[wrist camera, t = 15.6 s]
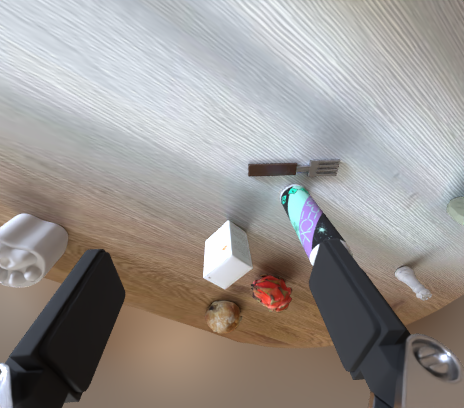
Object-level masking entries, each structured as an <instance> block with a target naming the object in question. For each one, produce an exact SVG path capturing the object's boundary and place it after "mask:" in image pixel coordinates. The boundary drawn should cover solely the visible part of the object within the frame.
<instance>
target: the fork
mask: <svg viewBox="0 0 464 408" xmlns="http://www.w3.org/2000/svg"><path fill="white" fill-rule="evenodd" d="M333 162H340V160H339V159H333V160H310V163H309V165H302V166H297V163H271V164H248V176H279V175H296V172H308V173H307V176H308V177H316V176H336V175H337V173H317V172H330V171H338V169H337V168H331V169H318V167H339V164H319V163H333Z"/></svg>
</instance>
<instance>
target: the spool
mask: <svg viewBox="0 0 464 408" xmlns="http://www.w3.org/2000/svg"><path fill="white" fill-rule="evenodd" d="M447 213H448V214H449V215H450V216H451V217H452V219H453V220H454V221H456V222H458V223H459V224H461V225H462V226H464V197H457V198H455V199H452V200H450V202H449V204H448V205H447Z"/></svg>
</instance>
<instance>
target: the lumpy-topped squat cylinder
mask: <svg viewBox="0 0 464 408" xmlns="http://www.w3.org/2000/svg"><path fill="white" fill-rule="evenodd" d="M67 242H68V234H67V232H66V230H65V229H64V228H63V227H61V226H60V225H58V224H55V223H51V222H47V221H44V220H42V219H39V218H37V217H35V216H33V215H30V214H19V215H17V216H15V217H14V218H13V219H11V220H10V221H9V222H7V223H6V224H4V225H3V226H2V227H0V284H3V285H5V286H9V287H27V286H31V285H33V284H35V283H37V282H39V281H40V280H42V278H43V277H44V276H45V275H46V274H47V273H48V271H49V270H50V269H51V268H52V267H53V266H54V264H55V263H56V262H57V261H58V260H59V258H60V257H61V256H62V255H63V254H64V252H65V250H66V247H67Z"/></svg>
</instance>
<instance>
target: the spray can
mask: <svg viewBox="0 0 464 408" xmlns="http://www.w3.org/2000/svg"><path fill="white" fill-rule="evenodd" d="M280 201H281V203H282V205H283V207H284V209H285V211H286V213H287V215H288V217H289V219H290V221H291V223H292V225H293V227H294V229H295V231H296V233H297V235H298V237H299V239H300V241H301V244H302V246H303V248H304V250H305V252H306V254H307V256H308V258H309V260H310V262H311V264H312V265H314V262H315V258H316V255H317V251H318V248H319V244H320V243H321V242H323V240H324V239H339V240H340V241H341V242H342V243H343V245H344V246H345V248H346V249H347V250H348V252H349V253H350V254H351V256H352V257H353V254H352V251H351V250H350V247H349V246H348V244H347V243H346V242H345V240H344V239H343V238H342V237H341V235H340V234H339V233H338V231H337V230H336V229H335V227H334V226H333V225H332V223H331V222H330V221H329V219H328V218H327V217H326V215H325V214H324V213H323V211H322V210H321V209H320V207H319V206H318V205H317V203H316V202H315V201H314V200H313V198H312V197H311V196H310V194H309V193H308V192H307V190H306V189H305V188H304V187H303V186H302V185H299V184H292V185H289V186H287V187H286V188H285V189H284V190H283V191H282V192H281V195H280Z"/></svg>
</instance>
